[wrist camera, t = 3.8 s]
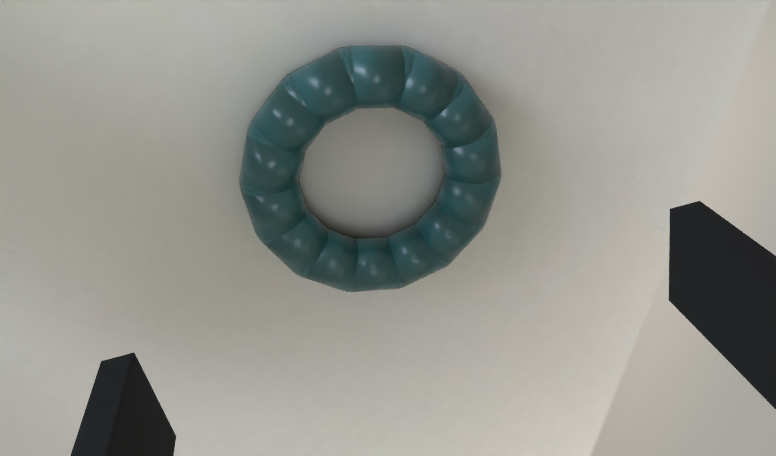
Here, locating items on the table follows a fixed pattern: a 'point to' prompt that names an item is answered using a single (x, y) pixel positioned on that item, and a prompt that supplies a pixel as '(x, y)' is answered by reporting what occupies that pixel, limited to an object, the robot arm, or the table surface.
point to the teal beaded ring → (335, 99)
